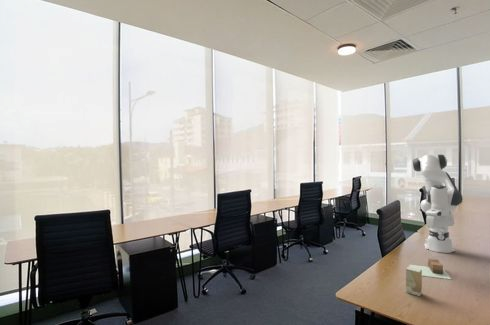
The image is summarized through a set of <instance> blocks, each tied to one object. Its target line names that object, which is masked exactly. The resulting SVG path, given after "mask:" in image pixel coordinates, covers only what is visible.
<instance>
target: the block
mask: <svg viewBox="0 0 490 325" xmlns="http://www.w3.org/2000/svg"><path fill="white" fill-rule="evenodd" d="M427 267H429V268H430V270H431V271H432V273H436V274H443V269H444V266H443V264H442V263H441V262H440V261H439V259H437V258H427Z"/></svg>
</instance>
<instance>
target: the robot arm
mask: <svg viewBox="0 0 490 325" xmlns="http://www.w3.org/2000/svg"><path fill="white" fill-rule="evenodd" d="M447 165H448V159H447V157H446V156H445V155H444V154H425V155H423V156H421V157H417V158H414V159H412V162H411V167H412V169H413V170H414V171H415V172H421V174H422V176H423V181H424V187H425V191H426V192H425V196H426V197H425V198H426V199H423V200H421V202H420V204H419V205H420V209H421V210H422V212H424V213H425V216H426V218H425V221H426V222H425V223H426V227H427V228H428V229H429V230H428V231H429V232H428V234H429V235H428V237H427V238H425V239H424V241H425V242H424V246H425V248H424V250H428V249H429V251H432V252H436V253H445V254H446V253H447V254H448V253H453V252H456V250H455V248H453V242H452V239H451V238H450V232H449V227H453V226H454V225H455V221H454V215H453V214H452V212H455V210H456V209H457V207H458V206H459V205H461V204H462V203H463V195H462V193H461V191H460V190H459V189H458V187H457V186H456V183H455V182H454V180H453V179H452V178H451V176H450V174H449V173H448V172H447V171H444V170H443V169H445V168H446V167H447Z"/></svg>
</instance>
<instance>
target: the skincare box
mask: <svg viewBox="0 0 490 325" xmlns="http://www.w3.org/2000/svg"><path fill="white" fill-rule="evenodd" d="M422 278H423V276H422V270H421V269H417V268H412V267H410V266H409V265H408V266H407V267H406V268H405V292H406V293H407V294H411V295H414V296H418V297H420V296H421V295H422V294H423V279H422Z"/></svg>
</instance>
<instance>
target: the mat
mask: <svg viewBox="0 0 490 325" xmlns="http://www.w3.org/2000/svg"><path fill="white" fill-rule="evenodd" d="M408 266H409V267H412V268H417V269H421V270H422V277H428V278H434V279H435V278H436V279H442V280H443V279H444V280H452V278H451V276H450V275H449V274H448V273H447V272H446V270H445V269H444V268H443V274H436V273H432V271H431V270H430V268H429V267H428V266H425V265H424V266H423V265H416V264H408Z"/></svg>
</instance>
